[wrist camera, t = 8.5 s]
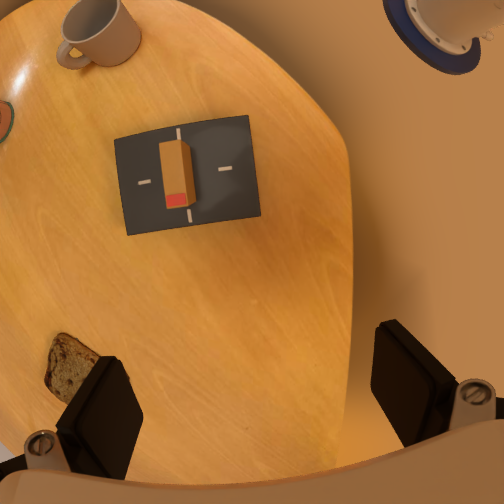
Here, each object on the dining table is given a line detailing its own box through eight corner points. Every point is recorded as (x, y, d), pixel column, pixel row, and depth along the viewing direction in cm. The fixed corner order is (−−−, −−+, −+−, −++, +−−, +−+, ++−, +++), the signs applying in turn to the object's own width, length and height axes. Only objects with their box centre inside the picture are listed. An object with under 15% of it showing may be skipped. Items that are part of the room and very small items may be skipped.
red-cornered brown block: (171, 148, 30) (157, 142, 24) (189, 145, 30) (179, 138, 24) (178, 204, 31) (166, 209, 26) (196, 201, 31) (188, 206, 26)
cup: (152, 43, 29) (131, 10, 20) (90, 92, 30) (54, 74, 21) (127, 13, 27) (104, -19, 19) (69, 60, 28) (35, 39, 20)
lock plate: (247, 120, 32) (248, 114, 29) (259, 213, 35) (261, 216, 32) (122, 142, 32) (113, 139, 29) (135, 231, 35) (126, 236, 31)
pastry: (150, 415, 41) (146, 427, 38) (72, 416, 41) (66, 427, 39) (104, 324, 37) (96, 334, 34) (26, 337, 37) (17, 346, 34)
